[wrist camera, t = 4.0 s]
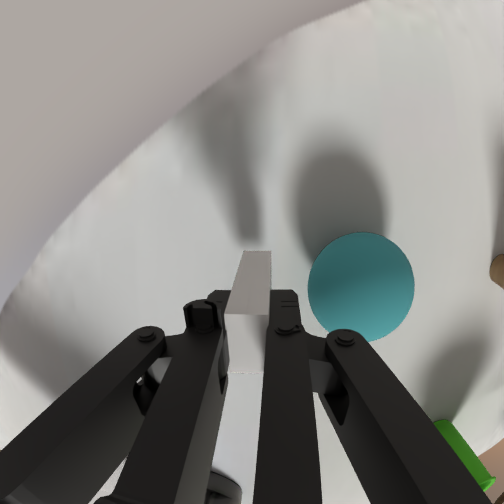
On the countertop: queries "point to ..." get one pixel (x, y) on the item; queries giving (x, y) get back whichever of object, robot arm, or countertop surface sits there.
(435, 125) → the countertop surface
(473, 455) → the cup
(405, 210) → the countertop surface
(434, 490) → the robot arm
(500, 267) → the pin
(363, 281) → the ball
